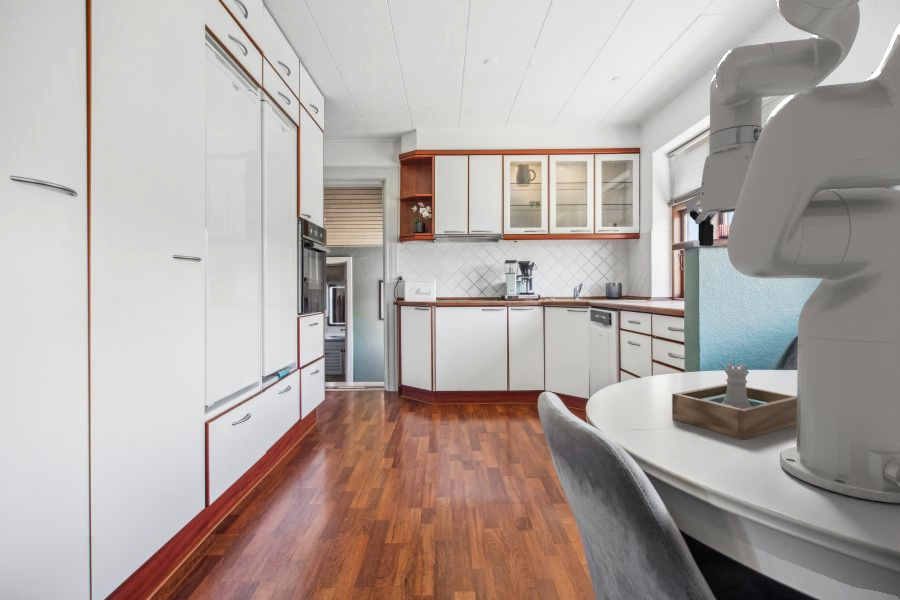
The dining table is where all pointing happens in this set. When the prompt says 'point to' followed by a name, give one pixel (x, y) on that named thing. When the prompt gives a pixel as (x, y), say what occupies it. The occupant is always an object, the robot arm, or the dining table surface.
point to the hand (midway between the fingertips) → (733, 243)
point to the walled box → (735, 411)
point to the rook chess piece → (736, 386)
